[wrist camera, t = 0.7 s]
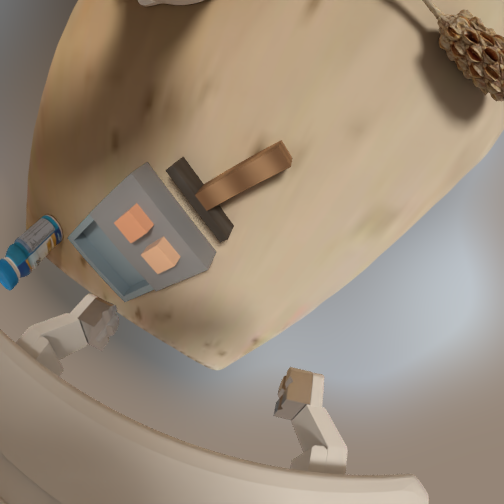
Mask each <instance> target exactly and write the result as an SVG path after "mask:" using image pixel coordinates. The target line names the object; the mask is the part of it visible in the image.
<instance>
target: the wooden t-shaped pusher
mask: <svg viewBox="0 0 504 504" xmlns="http://www.w3.org/2000/svg"><path fill="white" fill-rule="evenodd" d="M291 162H292V157H291V155H290V154H289V152H288V150H287V149H286V147H285V145H284V144H283V142H282V140H281V141H279V142H277V143H275V144H273V145H271V146H270V147H268V148H266V149H264V150H262V151H260V152H259V153H257V154H255V155H253V156H251V157H250V158H248V159H246V160H244V161H242V162H241V163H239V164H237V165H236V166H234V167H232V168H230V169H229V170H227V171H225V172H224V173H222V174H220V175H219V176H217V177H215V178H214V179H212V180H210V181H209V182H207V183H205V184H203V183H202V181H201V180H200V179H199V177H198V176H197V175H196V173H195V172H194V170H193V169H192V168H191V166H190V165H189V164H188V162H187V161H186V160H185V158H184V157H182V158H181V159H180V160H178V161H177V162H175V163H174V164H173V165H172V166H170V167H169V168H168V169H167V170H166V172H167V173H168V174H169V176H170V177H171V178H172V180H173V181H174V182H175V184H176V185H177V186H178V188H179V189H180V190H181V192H182V193H183V194H184V196H185V197H186V198H187V200H188V201H189V202H190V204H191V205H192V206H193V208H194V209H195V210H196V211H197V213H198V214H199V215H200V217H201V218H202V219H203V221H204V222H205V223H206V225H207V226H208V227H209V228H210V230H211V231H212V232H213V234H214V235H215V236H216V238H217V239H218V240H219V241H220V242H222V241H225V240H227V239H228V237H229V235H230V233H231V231H232V229H233V227H234V225H233V224H232V223H231V221H230V220H229V219H228V217H227V216H226V214H225V213H224V212H223V210H222V209H221V208H220V206H219V205H218V204H220V203H222V202H224V201H226V200H228V199H229V198H231V197H233V196H235V195H237V194H239V193H241V192H243V191H244V190H246V189H248V188H250V187H252V186H254V185H256V184H258V183H260V182H262V181H264V180H266V179H268V178H269V177H271V176H273V175H275V174H277V173H279V172H281V171H283V170H285V169H287V168H289V167H291Z"/></svg>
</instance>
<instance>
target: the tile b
mask: <svg viewBox="0 0 504 504" xmlns="http://www.w3.org/2000/svg"><path fill="white" fill-rule="evenodd" d="M141 256H142V257H143V258H144V259H145V261H146V262H147V263H148V264H149V265H150V266H151V267H152V269H153V270H154V271H155V272H156V273H157V274H159V273H161V272H163V271H166V270H168V269H170V268H172V267H174V266H175V265H176V263H177V262H178V260H179V259H180V257H181V256H180V255H179V254H178V253H177V252H176V250H175V249H174V248H173V247H172V246H171V244H170V243H169V242H168V241H167V240H166V238H165V237H164V236H163V237H162V238H160V239H158V240H157V241H155V242H153V243H152V244H150V245H148V246H147V247H146V248H145V250H144V251H143V252H142V254H141Z"/></svg>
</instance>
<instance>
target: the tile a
mask: <svg viewBox="0 0 504 504" xmlns="http://www.w3.org/2000/svg"><path fill="white" fill-rule="evenodd" d="M114 224H115V225H116V226H117V228H118V229H119V230H120V231H121V232H122V234H123V235H124V236H125V237H126V238H127V240H128V241H129V242H130V243H133V242H134V241H136V240H137V239H139V238H140V237H142V236H143V235H145V234H146V233H147V232H148V231H149V230H150V229H151V228H152V226H153V225H154V224H153V222H152V221H151V220H150V219H149V217H148V216H147V215H146V214H145V212H144V211H143V210H142V209H141V207H140V206H139V205H138V204H137V203H136V204H135V205H134V206H132V207H131V208H130V209H129V210H127V211H126V212H125V213H124V214H123V215H121V216H120V217H119V218H118V219H117V220H116V221H115V222H114Z"/></svg>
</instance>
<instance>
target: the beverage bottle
mask: <svg viewBox="0 0 504 504" xmlns="http://www.w3.org/2000/svg"><path fill="white" fill-rule="evenodd" d="M62 238H63V233H62V229H61V227H60V225H59V223H58V222H57V221H56V219H54V218H53V217H52V216H50V215H44V216H43V217H42V218H41V219H39V220H38V221H37V222H36V223H35V224H34V225H32V226H31V227H30V228H29V229H28V230H27V231H26V232H24V233H23V234H22V235H21V236H19V237H18V238H17V239H16V240H15V243H14V244H12V245H10V246H9V248H8V250H7V253H6V256H5V258H2V259H1V260H0V283H1V284H2V285H3V286H4V287H5V288H6V289H8V290H12V289H13V288H14V286H15V285H16V284H17V283H18V281H19V278H21V277H25V276H27V275H29V274H30V273H31V271H32V269H34V268H36V267H37V266H38V265H39V263H40V262H41V261H42V260H43V259H44V258H45V257H46V256H47V255H48V253H49V252H50V251H51V250H52V249H53V248H54V247H55V246H56V245H57V244H59V243H60V242H61V241H62Z"/></svg>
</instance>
